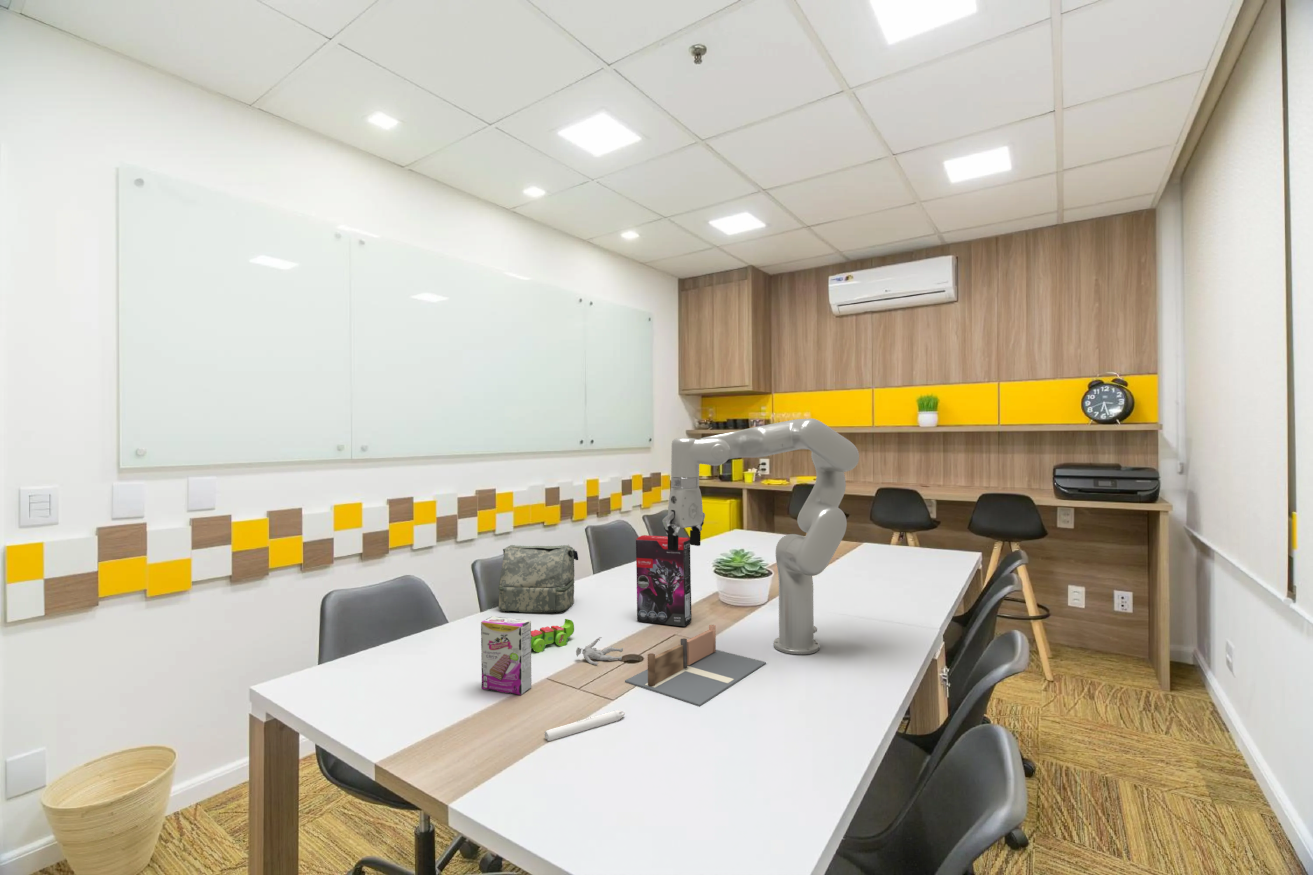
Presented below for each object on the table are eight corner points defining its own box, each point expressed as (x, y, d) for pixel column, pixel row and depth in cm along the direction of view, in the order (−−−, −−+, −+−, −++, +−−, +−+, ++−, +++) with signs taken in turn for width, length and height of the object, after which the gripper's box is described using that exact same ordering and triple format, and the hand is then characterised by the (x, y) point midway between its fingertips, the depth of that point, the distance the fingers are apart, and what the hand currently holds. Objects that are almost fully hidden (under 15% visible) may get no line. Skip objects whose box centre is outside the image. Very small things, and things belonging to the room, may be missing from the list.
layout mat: (696, 646, 172) (696, 644, 172) (766, 663, 159) (766, 661, 159) (624, 681, 148) (624, 680, 148) (699, 706, 134) (699, 704, 134)
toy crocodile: (519, 658, 164) (519, 636, 164) (508, 652, 169) (507, 630, 169) (580, 641, 177) (579, 621, 177) (567, 636, 182) (567, 616, 182)
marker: (623, 715, 131) (622, 704, 131) (627, 719, 129) (627, 708, 129) (544, 739, 121) (544, 727, 121) (548, 743, 119) (548, 731, 119)
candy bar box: (480, 690, 144) (479, 621, 144) (492, 682, 149) (491, 615, 149) (521, 696, 140) (520, 625, 140) (532, 687, 145) (531, 619, 145)
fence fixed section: (682, 665, 156) (682, 637, 156) (688, 667, 155) (688, 639, 155) (646, 684, 145) (646, 654, 145) (652, 686, 144) (651, 656, 144)
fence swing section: (689, 665, 156) (689, 638, 156) (684, 663, 157) (683, 636, 157) (717, 650, 166) (716, 625, 166) (711, 649, 167) (711, 624, 167)
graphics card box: (635, 622, 195) (634, 537, 195) (643, 616, 201) (643, 534, 201) (685, 628, 188) (684, 540, 188) (692, 621, 194) (691, 537, 194)
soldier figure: (621, 668, 159) (577, 658, 157) (615, 676, 162) (572, 665, 160) (624, 641, 164) (582, 630, 162) (619, 648, 168) (577, 638, 165)
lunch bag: (582, 601, 220) (581, 541, 220) (566, 616, 202) (565, 550, 202) (514, 598, 225) (513, 539, 224) (493, 613, 207) (492, 549, 206)
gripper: (675, 486, 154) (675, 554, 154) (715, 483, 167) (714, 545, 167) (653, 484, 158) (652, 550, 158) (693, 481, 172) (692, 541, 172)
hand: (684, 547), depth 163 cm, fingers open, 9 cm apart
